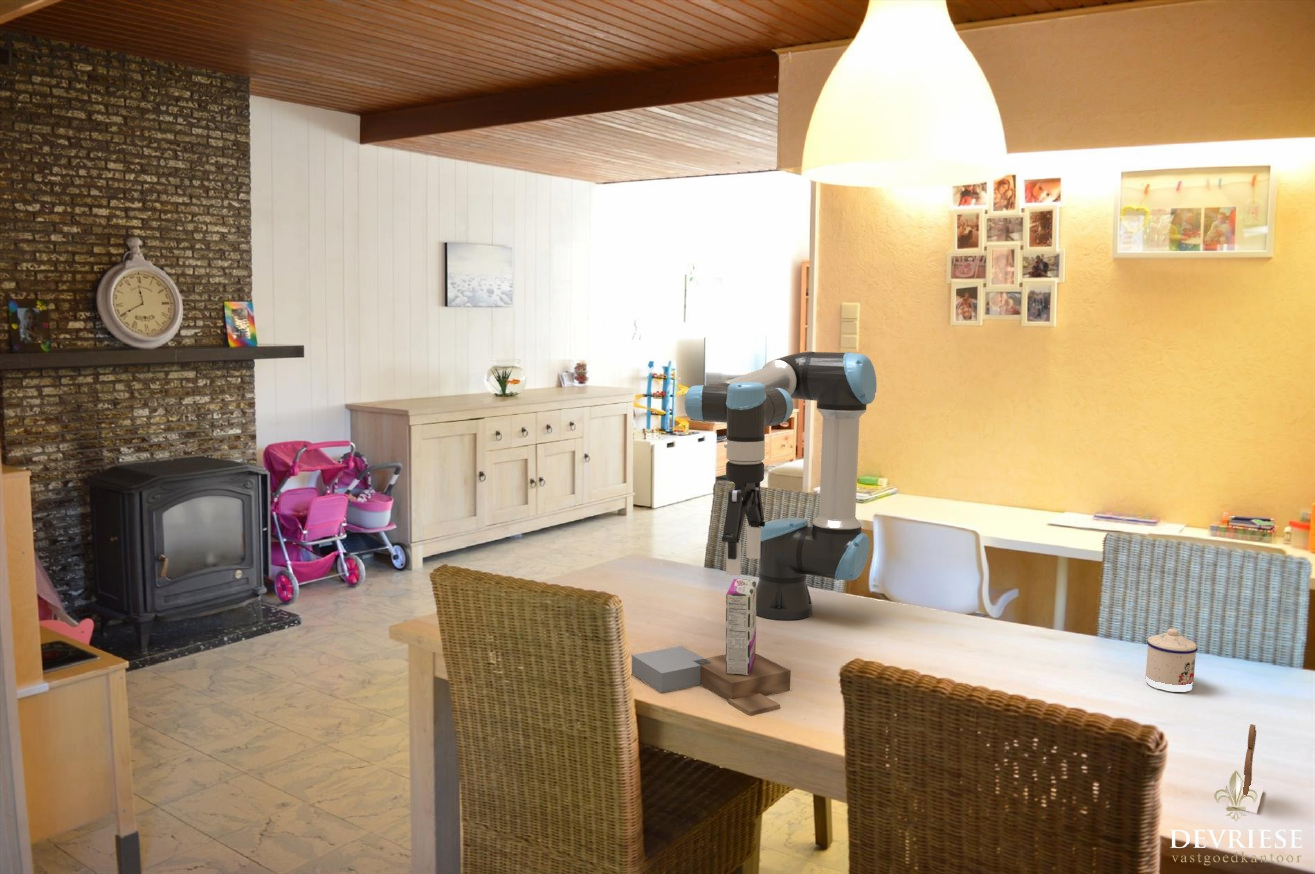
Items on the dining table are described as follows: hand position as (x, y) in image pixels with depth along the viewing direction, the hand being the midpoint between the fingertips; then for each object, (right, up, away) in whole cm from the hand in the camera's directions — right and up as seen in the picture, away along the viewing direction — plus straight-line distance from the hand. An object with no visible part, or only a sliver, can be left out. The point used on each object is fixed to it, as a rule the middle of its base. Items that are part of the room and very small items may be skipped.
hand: (743, 566), depth 202 cm
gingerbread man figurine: (+74, -30, -45) cm, 92 cm away
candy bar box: (-1, -20, 0) cm, 20 cm away
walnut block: (-1, -24, 0) cm, 24 cm away
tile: (+1, -25, -10) cm, 27 cm away
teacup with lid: (+87, -25, +3) cm, 90 cm away
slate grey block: (-14, -23, +4) cm, 27 cm away
